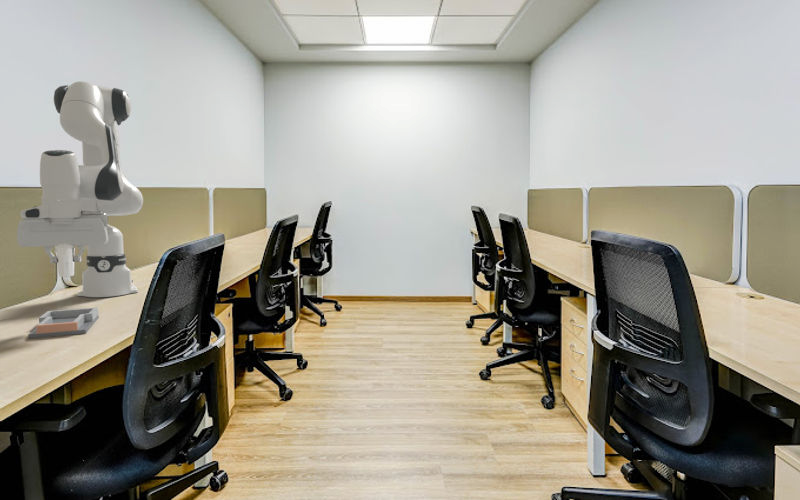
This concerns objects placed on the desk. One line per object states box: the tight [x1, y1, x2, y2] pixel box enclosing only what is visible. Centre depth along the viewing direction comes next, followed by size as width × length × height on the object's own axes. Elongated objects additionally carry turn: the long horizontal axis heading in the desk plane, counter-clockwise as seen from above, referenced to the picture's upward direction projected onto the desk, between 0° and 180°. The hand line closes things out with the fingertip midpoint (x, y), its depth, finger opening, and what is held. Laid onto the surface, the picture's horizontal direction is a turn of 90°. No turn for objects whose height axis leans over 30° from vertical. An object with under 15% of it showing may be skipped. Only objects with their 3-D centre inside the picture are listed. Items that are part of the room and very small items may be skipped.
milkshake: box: [54, 243, 76, 278], centre depth 132 cm, size 4×5×10 cm
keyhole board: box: [27, 306, 100, 339], centre depth 130 cm, size 18×12×3 cm, turn 23°
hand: (66, 262), depth 132 cm, fingers closed on milkshake, 4 cm apart
